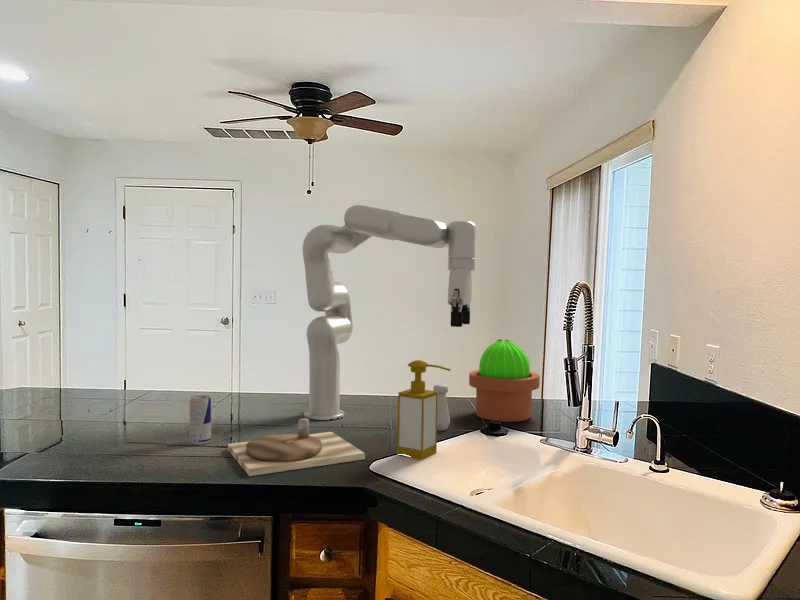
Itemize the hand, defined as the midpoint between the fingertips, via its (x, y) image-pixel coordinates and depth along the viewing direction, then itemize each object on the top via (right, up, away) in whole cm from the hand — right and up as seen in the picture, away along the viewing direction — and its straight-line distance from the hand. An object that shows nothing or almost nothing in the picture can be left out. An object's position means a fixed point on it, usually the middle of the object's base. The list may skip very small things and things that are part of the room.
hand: (460, 325), depth 170 cm
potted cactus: (+16, -30, +22) cm, 41 cm away
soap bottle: (-11, -32, -22) cm, 40 cm away
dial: (-45, -29, -24) cm, 59 cm away
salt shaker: (-5, -31, +5) cm, 32 cm away
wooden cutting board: (-43, -31, -22) cm, 58 cm away
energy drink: (-70, -31, -12) cm, 77 cm away
